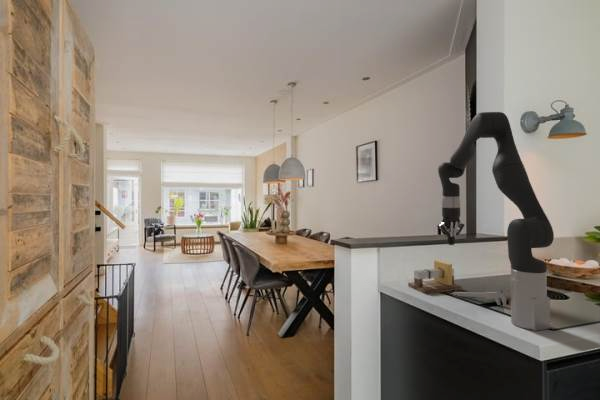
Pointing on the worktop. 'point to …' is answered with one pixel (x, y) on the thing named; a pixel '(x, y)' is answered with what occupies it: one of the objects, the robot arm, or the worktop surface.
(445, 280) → the tan flat square slab
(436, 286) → the pipe board
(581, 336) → the worktop surface
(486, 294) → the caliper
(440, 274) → the pipe
